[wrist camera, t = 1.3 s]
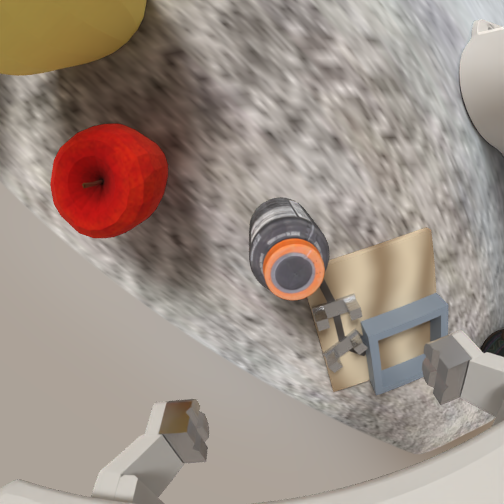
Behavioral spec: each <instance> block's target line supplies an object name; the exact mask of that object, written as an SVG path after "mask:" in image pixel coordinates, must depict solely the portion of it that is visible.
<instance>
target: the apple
mask: <svg viewBox="0 0 504 504" xmlns="http://www.w3.org/2000/svg"><path fill="white" fill-rule="evenodd" d="M167 178H168V164H167V160H166V157H165V155H164V153H163V152H162V150H161V149H160V148H159V146H158V145H157V144H156V143H155V142H153V141H151V140H150V139H148V138H147V137H145V136H144V135H142V134H141V133H139V132H138V131H136V130H135V129H132V128H130V127H127V126H125V125H122V124H102V125H97V126H92V127H90V128H88V129H85V130H83V131H81V132H78V133H77V134H76V135H74V136H73V137H72V138H71V139H70V140H69V141H67V142H66V143H65V144H64V145H63V146H62V147H61V148H60V150H59V152H58V153H57V155H56V157H55V159H54V163H53V170H52V177H51V191H52V196H53V202H54V205H55V207H56V208H57V210H58V212H59V213H60V215H61V216H62V217H63V218H64V219H65V220H66V221H67V222H68V223H69V224H70V225H71V226H72V227H73V228H74V229H75V230H76V231H78V232H79V233H80V234H83V235H86V236H89V237H92V238H110V237H115V236H117V235H120V234H123V233H126V232H127V231H129V230H131V229H133V228H134V227H135V226H137V225H138V224H140V223H141V222H143V221H144V220H146V219H147V218H149V217H150V216H151V214H152V213H153V212H154V211H155V210H156V209H157V207H158V205H159V203H160V201H161V199H162V197H163V194H164V191H165V187H166V182H167Z"/></svg>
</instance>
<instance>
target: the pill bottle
mask: <svg viewBox="0 0 504 504" xmlns="http://www.w3.org/2000/svg"><path fill="white" fill-rule="evenodd" d="M249 260H250V266H251V269H252V272H253V274H254V276H255V277H256V279H257V280H258V281H259V283H261V284H262V285H263V286H264V287H265V288H267V289H269V290H270V291H271V292H272V293H274V294H275V295H276V296H278V297H280V298H282V299H285V300H300V299H304V298H306V297H308V296H310V295H312V294H313V293H314V292H315V291H316V290H317V289H318V288H319V287H320V285H321V283H322V281H323V278H324V275H325V271H326V269H327V266H328V262H329V246H328V243H327V240H326V238H325V236H324V234H323V233H322V232H321V230H320V229H319V227H318V226H317V225H316V223H315V222H314V221H313V219H312V218H311V217H310V216H309V214H308V213H307V212H306V210H305V209H304V208H303V207H302V206H301V205H300V204H299V203H297V202H295V201H294V200H291V199H288V198H274V199H270V200H268V201H266V202H264V203H262V204H261V205H260V206H259V207H258V208H257V209H256V210H255V212H254V214H253V215H252V218H251V221H250V228H249Z"/></svg>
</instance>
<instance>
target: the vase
mask: <svg viewBox="0 0 504 504" xmlns="http://www.w3.org/2000/svg"><path fill="white" fill-rule="evenodd" d="M146 1H147V0H0V74H8V75H32V74H39V73H44V72H49V71H54V70H58V69H63V68H67V67H72V66H77V65H81V64H85V63H89V62H92V61H95V60H98V59H101V58H103V57H105V56H107V55H110V54H112V53H114V52H115V51H117V50H118V49H119V48H120V47H122V46H123V45H124V44H126V43H127V42H128V41H129V39H130V38H131V37H132V36H133V35H134V33H135V32H136V31H137V30H138V28H139V26H140V23H141V21H142V19H143V17H144V13H145V7H146Z"/></svg>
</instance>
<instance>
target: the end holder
mask: <svg viewBox="0 0 504 504" xmlns="http://www.w3.org/2000/svg"><path fill="white" fill-rule="evenodd" d="M429 320H430V342H431V341H434V340H436V339H439V338H441V337H444V336H446V335H448V304H447V303H446V302H445V301H444V300H443V299H442V298H441V297H440V296H439V295H438V294H437V293H434V294H432V295H429V296H427V297H424V298H422V299H419V300H417V301H414V302H412V303H409V304H407V305H404V306H402V307H399V308H396V309H394V310H391V311H388V312H386V313H383V314H380V315H378V316H375V317H372V318H369V319H366V320H364V321H361V328H362V334H363V337H364V341H365V343H366V345H367V347H368V349H367V350H365V351H366V358H367V364H368V371H369V378H370V382H371V384H372V386H373V389H374V391H375V394H376V395H379V394H382V393H385V392H387V391H390V390H393V389H395V388H398V387H400V386H403V385H405V384H408V383H410V382H412V381H415V380H417V379H420V378H422V377H423V372H422V362H423V360H424V359H425V357H426V355H425V354H422V355H419V356H417V357H415V358H412V359H410V360H407V361H405V362H402V363H400V364H397V365H395V366H392V367H390V368H387V369H384V370H381V361H380V353H379V345H378V340H381V339H384V338H387V337H389V336H392V335H394V334H397V333H400V332H402V331H405V330H407V329H410V328H412V327H415V326H417V325H419V324H422V323H424V322H427V321H429Z"/></svg>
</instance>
